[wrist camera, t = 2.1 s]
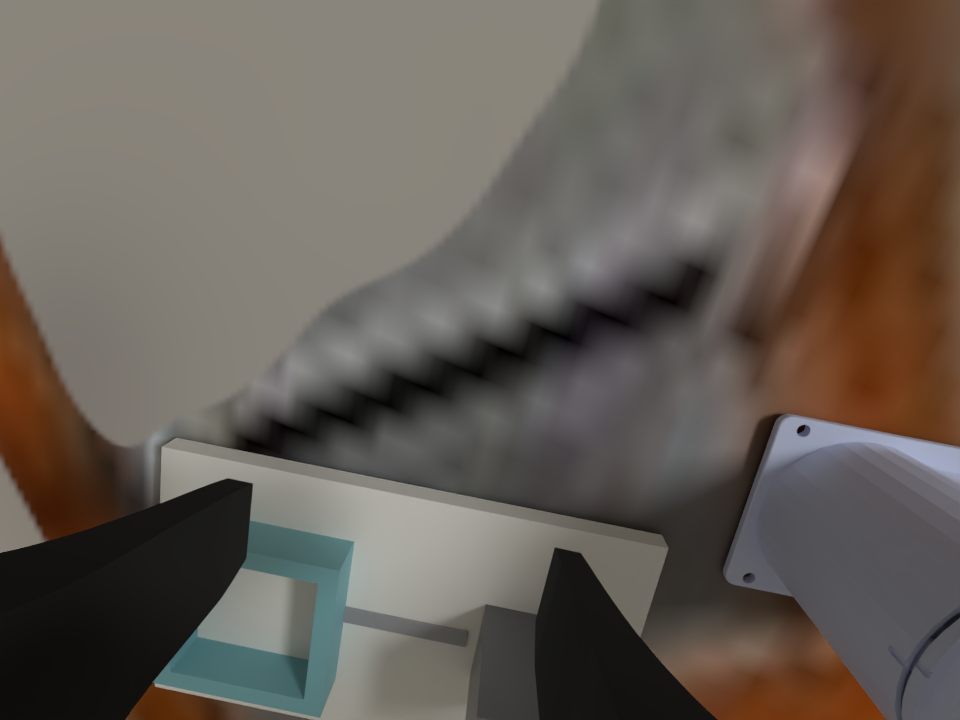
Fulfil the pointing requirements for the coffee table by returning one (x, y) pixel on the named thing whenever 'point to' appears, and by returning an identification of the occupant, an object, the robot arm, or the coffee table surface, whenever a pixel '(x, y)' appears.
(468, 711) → the cable plug
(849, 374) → the coffee table surface
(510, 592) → the board
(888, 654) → the robot arm
